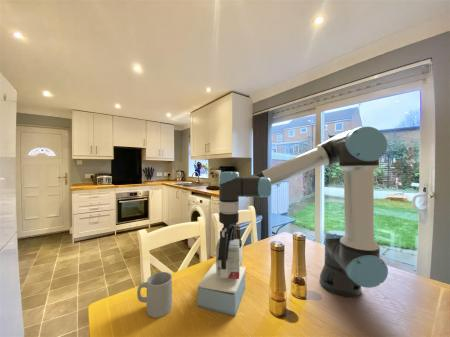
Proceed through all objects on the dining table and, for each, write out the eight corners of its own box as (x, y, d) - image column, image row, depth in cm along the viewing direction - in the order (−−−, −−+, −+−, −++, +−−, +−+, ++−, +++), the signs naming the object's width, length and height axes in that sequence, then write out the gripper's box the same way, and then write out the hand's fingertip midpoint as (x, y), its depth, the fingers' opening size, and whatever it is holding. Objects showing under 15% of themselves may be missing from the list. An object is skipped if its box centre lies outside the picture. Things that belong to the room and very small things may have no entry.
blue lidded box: (245, 288, 81) (245, 271, 81) (235, 316, 65) (235, 295, 65) (214, 281, 85) (214, 265, 85) (197, 306, 70) (197, 287, 70)
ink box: (239, 267, 78) (239, 238, 78) (239, 279, 70) (239, 247, 70) (218, 266, 79) (218, 237, 79) (215, 278, 71) (215, 246, 70)
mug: (174, 300, 73) (174, 271, 73) (168, 317, 65) (168, 285, 64) (141, 301, 72) (141, 272, 72) (132, 319, 64) (132, 286, 64)
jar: (233, 269, 95) (233, 245, 95) (222, 263, 101) (222, 240, 100) (245, 263, 101) (245, 240, 101) (234, 257, 107) (234, 236, 107)
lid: (245, 269, 81) (245, 267, 81) (235, 293, 65) (235, 291, 65) (214, 264, 85) (214, 263, 85) (197, 286, 70) (197, 285, 70)
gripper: (228, 205, 86) (227, 255, 86) (208, 218, 65) (208, 284, 65) (244, 206, 83) (244, 258, 84) (229, 220, 62) (229, 288, 63)
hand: (228, 269), depth 74 cm, fingers open, 9 cm apart
